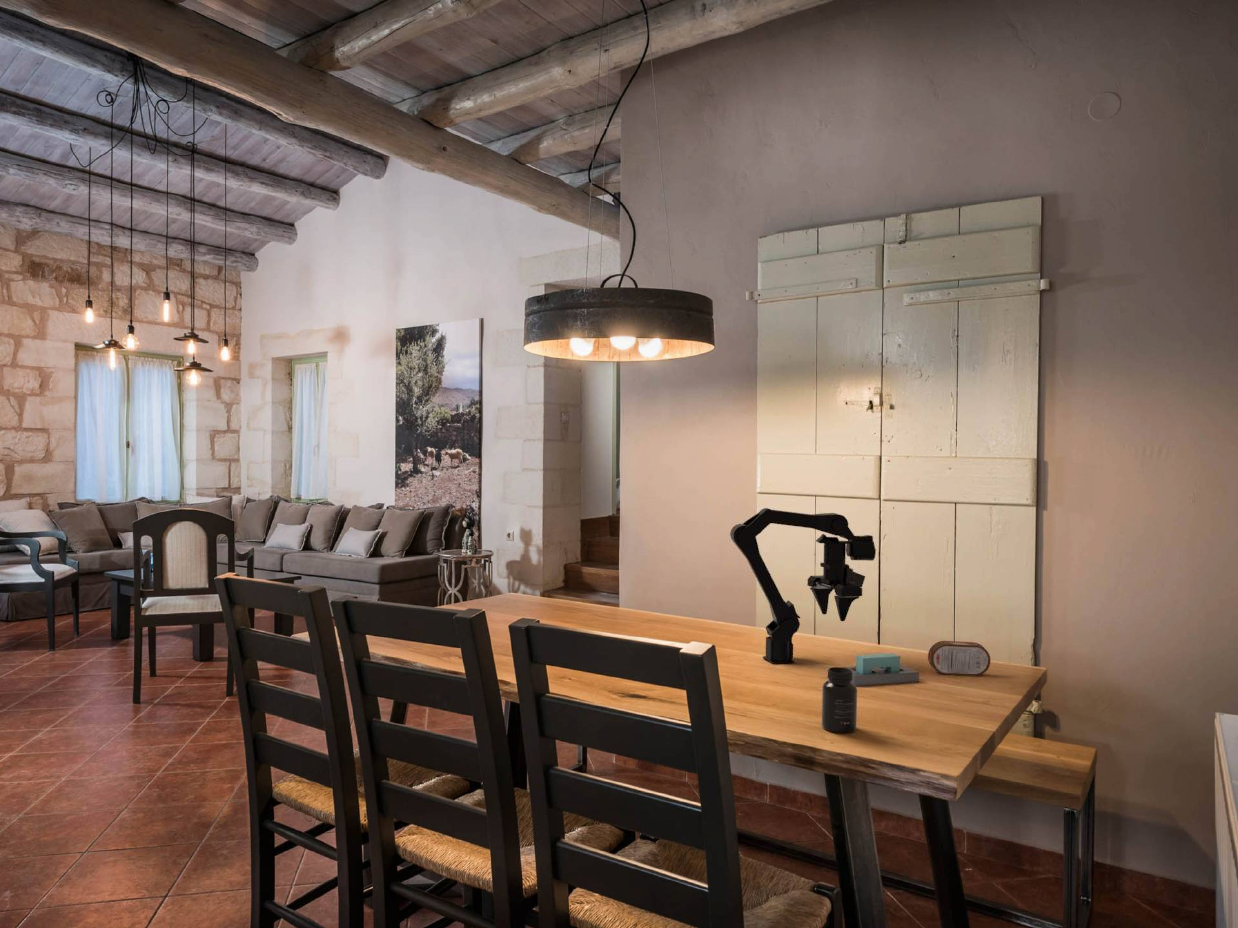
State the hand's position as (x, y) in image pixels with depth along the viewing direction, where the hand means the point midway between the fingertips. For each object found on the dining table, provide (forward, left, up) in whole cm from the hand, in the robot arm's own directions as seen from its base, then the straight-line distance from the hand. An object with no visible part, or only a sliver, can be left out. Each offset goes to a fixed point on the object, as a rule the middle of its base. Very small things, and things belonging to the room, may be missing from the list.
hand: (833, 617), depth 216 cm
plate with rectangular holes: (+2, -18, -12) cm, 22 cm away
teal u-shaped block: (+2, -18, -12) cm, 22 cm away
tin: (+26, -18, -12) cm, 34 cm away
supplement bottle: (-27, -48, -12) cm, 56 cm away
